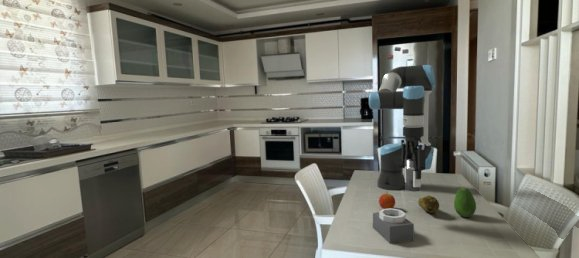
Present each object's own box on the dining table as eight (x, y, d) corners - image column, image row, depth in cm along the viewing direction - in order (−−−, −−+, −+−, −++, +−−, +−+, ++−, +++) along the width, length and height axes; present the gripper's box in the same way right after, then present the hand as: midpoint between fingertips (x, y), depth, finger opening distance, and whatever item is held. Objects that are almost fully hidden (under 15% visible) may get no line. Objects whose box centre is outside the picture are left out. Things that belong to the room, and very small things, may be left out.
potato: (438, 208, 139) (439, 190, 138) (439, 219, 127) (439, 200, 127) (418, 206, 143) (418, 188, 142) (417, 216, 131) (417, 197, 130)
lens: (402, 188, 127) (402, 158, 125) (414, 186, 128) (415, 157, 126) (410, 192, 122) (410, 161, 120) (422, 190, 123) (422, 160, 121)
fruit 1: (390, 213, 135) (391, 195, 134) (376, 209, 140) (376, 192, 139) (397, 208, 140) (397, 191, 139) (383, 205, 145) (383, 188, 144)
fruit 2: (477, 221, 124) (478, 191, 123) (455, 219, 127) (456, 190, 125) (473, 214, 131) (474, 186, 130) (452, 212, 134) (453, 184, 133)
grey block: (372, 227, 121) (372, 207, 120) (394, 225, 123) (394, 205, 122) (389, 243, 109) (389, 221, 108) (413, 240, 110) (413, 218, 109)
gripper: (392, 124, 130) (392, 179, 133) (418, 129, 112) (417, 192, 115) (408, 123, 131) (408, 177, 134) (437, 128, 113) (435, 190, 116)
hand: (412, 184), depth 124 cm, fingers closed on lens, 5 cm apart
